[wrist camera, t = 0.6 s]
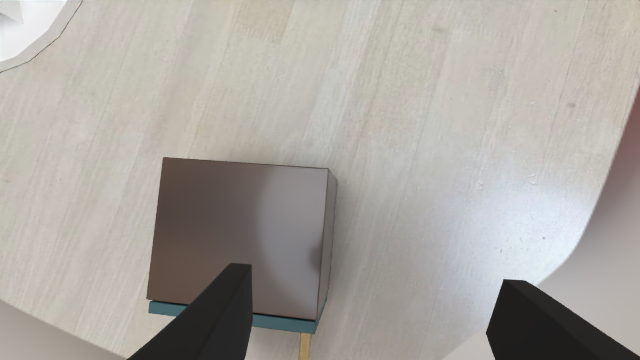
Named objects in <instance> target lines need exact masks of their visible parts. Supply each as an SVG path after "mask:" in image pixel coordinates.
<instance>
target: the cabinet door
mask: <svg viewBox="0 0 640 360" xmlns="http://www.w3.org/2000/svg"><path fill="white" fill-rule="evenodd" d="M326 300H327V294H326V297H325V300H324V302H323V305H322V308H321V310H320V313H319V316H318V318H317V320H310V319H302V318H294V317H286V316H278V315H270V314H262V313H254V312H253V322H252V326H254V327H262V328H270V329H277V330H285V331H293V332H301V339H300V351H299V360H309V357H310V345H311V334H315V332H316V329H317V326H318V323H319V320H320V317H321V315H322V312H323V309H324V306H325V303H326ZM188 305H189V304H181V303H173V302H165V301H157V300H153V301H150V303H149V313H153V314H161V315H168V316H176V317H177V316H178V315H179V314H180V313H181V312H182V311H183V310H184V309H185V308H186V307H187V306H188Z"/></svg>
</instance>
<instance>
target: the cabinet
mask: <svg viewBox="0 0 640 360" xmlns="http://www.w3.org/2000/svg"><path fill="white" fill-rule="evenodd" d="M336 191H337V179H336V178H335V176H334V175H333V174H332V172H331V171H330V170H329V169H328V168H314V167H300V166H285V165H271V164H256V163H241V162H227V161H212V160H198V159H183V158H169V157H164V158H163V163H162V171H161V179H160V188H159V196H158V205H157V213H156V221H155V230H154V238H153V247H152V255H151V263H150V272H149V280H148V289H147V297H146V299H148V300H157V301H165V302H173V303H181V304H190V303H191V302H192V301H193V300H194V299H195V298H196V297H197V296H198V295H199V294H200V293H201V292H202V291H203V290H204V289H205V288H206V287H207V286H208V285H209V284H210V283H211V282H212V281H213V280H214V279H215V278H216V277H217V276H218V275H219V274H220V272H221V271H222V270H223V269H224V268H225V267H226V266H227V265H228V264H230V263H241V264H252V301H253V312H254V313H262V314H270V315H278V316H286V317H294V318H302V319H310V320H317V318H318V316H319V313H320V310H321V308H322V305H323V302H324V300H325V297H326V294H327V292H328V289H329V281H330V268H331V255H332V242H333V230H334V217H335V204H336Z"/></svg>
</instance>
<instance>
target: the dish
mask: <svg viewBox="0 0 640 360" xmlns="http://www.w3.org/2000/svg"><path fill="white" fill-rule="evenodd" d="M81 1H82V0H0V72H2V71H5V70H8V69H10V68H13V67H16V66H18V65H21V64H24V63H26V62H29V61H30V60H31V59H32V58H33V57H35V56H36V55H37V54H38V53H40V52H41V51H42V50H43V49H44V48H46V47H47V46H48V45H49V44H51V43H52V42H53V41H54V40H55V39H57V38H58V37H59V36H60V34H61V33H62V31H63V30H64V28H65V27H66V25H67V24H68V22H69V20H70V19H71V17H72V16H73V14H74V13H75V11H76V10H77V8H78V7H79V5H80V4H81Z"/></svg>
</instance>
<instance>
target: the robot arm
mask: <svg viewBox="0 0 640 360" xmlns="http://www.w3.org/2000/svg"><path fill="white" fill-rule="evenodd" d="M252 322H253V301H252V264H241V263H230V264H228V265H227V266H226V267H225V268H224V269H223V270H222V271H221V272H220V274H219V275H218V276H217V277H216V278H215V279H214V280H213V281H212V282H211V283H210V284H209V285H208V286H207V287H206V288H205V289H204V290H203V291H202V292H201V293H200V294H199V295H198V296H197V297H196V298H195V299H194V300H193V301H192V302H191V303H190V304H189V305H188V306H187V307H186V308H185V309H184V310H183V311H182V312H181V313H180V314H179V315H178V316H177V317H176V318H175V319H174V320H172V321H171V322H170V323H169V324H168V325H167V326H166V327H165V328H163V329H162V330H161V331H160V332H159V333H158V334H157V335H156V336H154V337H153V338H152V339H151V340H150V341H149V342H148V343H146V344H145V345H144V346H143V347H142V348H140V349H139V350H138V351H137V352H136V353H134V354H133V355H132V356H131V357H129V358H128V359H127V360H244V359H245V356H246V351H247V347H248V342H249V337H250V332H251V327H252ZM486 335H487V337H488V341H489V344H490V346H491V349H492V352H493V354H494V357H495V360H640V356H638V355H636V354H635V353H633V352H632V351H630V350H629V349H627V348H626V347H624V346H623V345H621V344H620V343H618V342H616V341H615V340H614V339H612V338H611V337H609V336H607V335H606V334H605V333H603V332H602V331H600V330H599V329H597V328H596V327H594V326H593V325H591V324H590V323H589V322H587V321H586V320H584V319H583V318H581V317H580V316H578V315H577V314H575V313H574V312H572V311H571V310H570V309H568V308H567V307H565V306H564V305H562V304H561V303H559V302H558V301H556V300H555V299H553V298H552V297H550V296H549V295H547V294H546V293H544V292H543V291H541V290H540V289H538V288H537V287H535V286H533V285H532V284H530V283H528V282H527V281H524V280H508V279H504V280H503V283H502V286H501V289H500V292H499V295H498V298H497V301H496V304H495V307H494V310H493V313H492V316H491V319H490V322H489V325H488V328H487V331H486Z"/></svg>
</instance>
